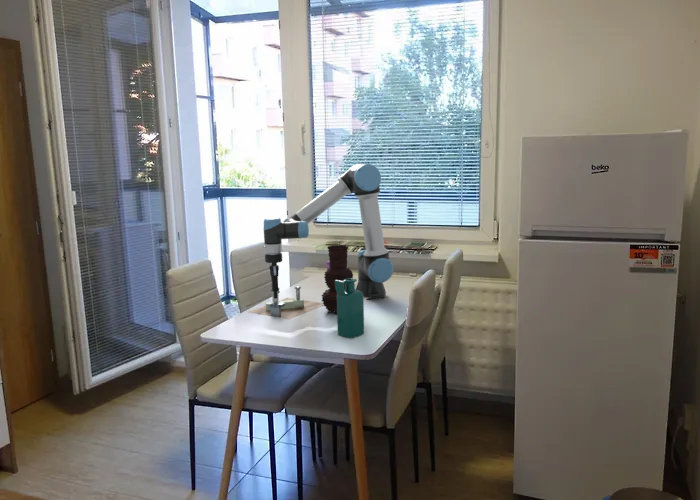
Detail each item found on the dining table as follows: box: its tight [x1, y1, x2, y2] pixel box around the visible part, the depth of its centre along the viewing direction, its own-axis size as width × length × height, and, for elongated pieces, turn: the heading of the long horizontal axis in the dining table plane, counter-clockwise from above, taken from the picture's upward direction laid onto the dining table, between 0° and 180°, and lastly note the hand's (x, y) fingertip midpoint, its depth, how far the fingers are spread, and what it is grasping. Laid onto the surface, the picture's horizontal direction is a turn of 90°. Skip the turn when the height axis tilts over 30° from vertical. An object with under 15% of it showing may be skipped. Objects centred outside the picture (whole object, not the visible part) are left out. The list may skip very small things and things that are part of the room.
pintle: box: [294, 285, 302, 300], centre depth 250 cm, size 3×3×6 cm
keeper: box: [270, 302, 285, 318], centre depth 238 cm, size 5×4×5 cm
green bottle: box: [335, 277, 365, 339], centre depth 213 cm, size 10×8×22 cm
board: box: [248, 297, 324, 320], centre depth 250 cm, size 23×28×2 cm
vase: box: [321, 244, 354, 315], centre depth 241 cm, size 15×15×30 cm
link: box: [265, 298, 305, 311], centre depth 249 cm, size 17×5×3 cm, turn 109°
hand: (275, 304), depth 250 cm, fingers closed
